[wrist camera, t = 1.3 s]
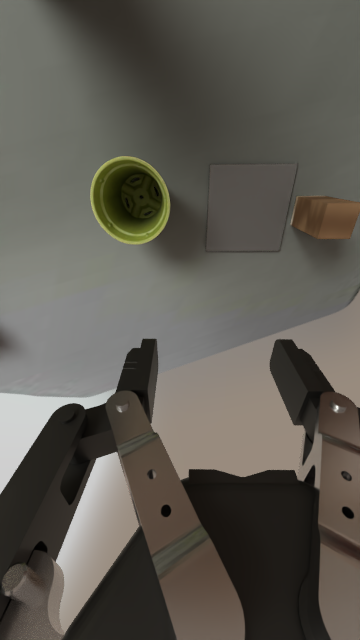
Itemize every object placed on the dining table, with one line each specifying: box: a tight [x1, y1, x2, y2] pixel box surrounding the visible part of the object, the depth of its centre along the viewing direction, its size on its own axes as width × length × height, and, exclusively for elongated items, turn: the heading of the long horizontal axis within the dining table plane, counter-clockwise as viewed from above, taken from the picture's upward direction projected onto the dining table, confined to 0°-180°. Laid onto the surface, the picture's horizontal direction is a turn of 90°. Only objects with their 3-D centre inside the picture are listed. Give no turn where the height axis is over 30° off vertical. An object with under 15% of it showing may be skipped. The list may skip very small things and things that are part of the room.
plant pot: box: [90, 156, 170, 244], centre depth 32 cm, size 9×9×9 cm
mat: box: [206, 164, 298, 251], centre depth 36 cm, size 12×12×1 cm
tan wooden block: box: [290, 196, 360, 239], centre depth 33 cm, size 4×4×9 cm
